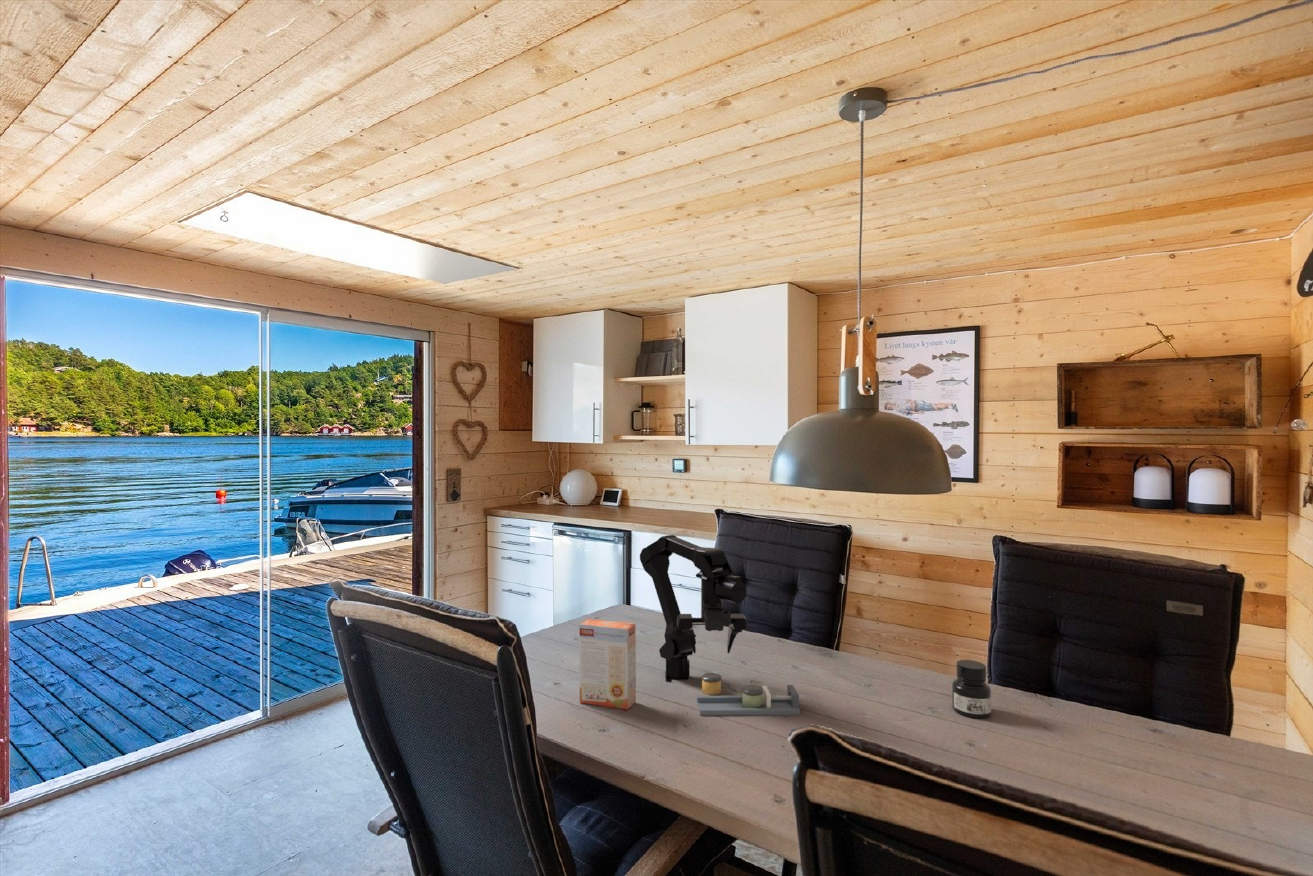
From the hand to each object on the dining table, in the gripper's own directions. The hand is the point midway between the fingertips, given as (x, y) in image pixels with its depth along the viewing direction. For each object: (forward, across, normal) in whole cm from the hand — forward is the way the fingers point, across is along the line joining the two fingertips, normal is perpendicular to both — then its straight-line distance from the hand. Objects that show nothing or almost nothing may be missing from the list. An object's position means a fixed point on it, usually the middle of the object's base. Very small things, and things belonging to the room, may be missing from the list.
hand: (711, 653), depth 169 cm
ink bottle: (+11, +65, -13) cm, 67 cm away
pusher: (+10, +18, -11) cm, 24 cm away
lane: (+11, +8, -11) cm, 17 cm away
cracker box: (+11, -28, -6) cm, 31 cm away
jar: (+11, 0, 0) cm, 11 cm away
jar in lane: (+10, +9, -11) cm, 18 cm away
